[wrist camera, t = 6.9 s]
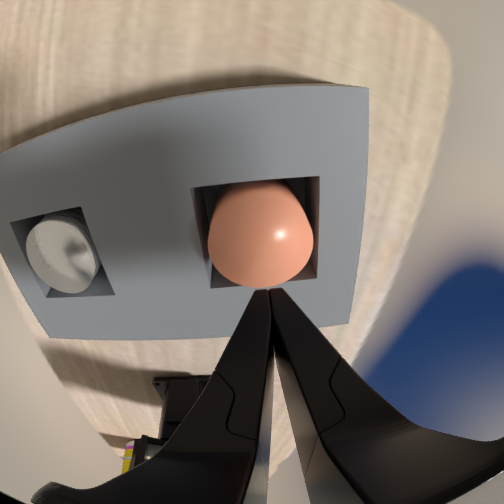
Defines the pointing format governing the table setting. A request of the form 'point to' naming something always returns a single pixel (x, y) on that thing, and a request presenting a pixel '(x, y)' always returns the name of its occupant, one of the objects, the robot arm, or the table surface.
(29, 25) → the table surface
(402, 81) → the table surface
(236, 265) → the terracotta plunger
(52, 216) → the steel plunger
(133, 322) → the panel
